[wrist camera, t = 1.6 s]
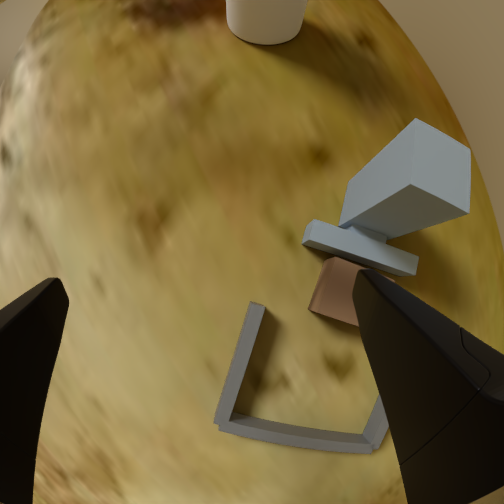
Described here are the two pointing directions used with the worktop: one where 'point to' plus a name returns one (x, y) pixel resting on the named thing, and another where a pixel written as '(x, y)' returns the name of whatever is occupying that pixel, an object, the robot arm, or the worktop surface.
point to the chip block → (336, 290)
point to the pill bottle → (265, 19)
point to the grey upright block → (398, 199)
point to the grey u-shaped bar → (281, 431)
